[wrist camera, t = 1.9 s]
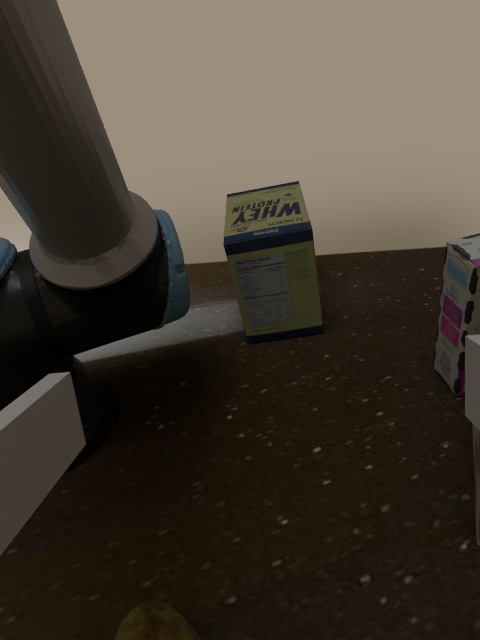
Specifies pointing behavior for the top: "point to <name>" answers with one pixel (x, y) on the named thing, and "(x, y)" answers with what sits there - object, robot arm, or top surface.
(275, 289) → the protein box
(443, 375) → the candy bar box
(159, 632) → the potato
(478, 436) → the block
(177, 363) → the top surface
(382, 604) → the top surface
